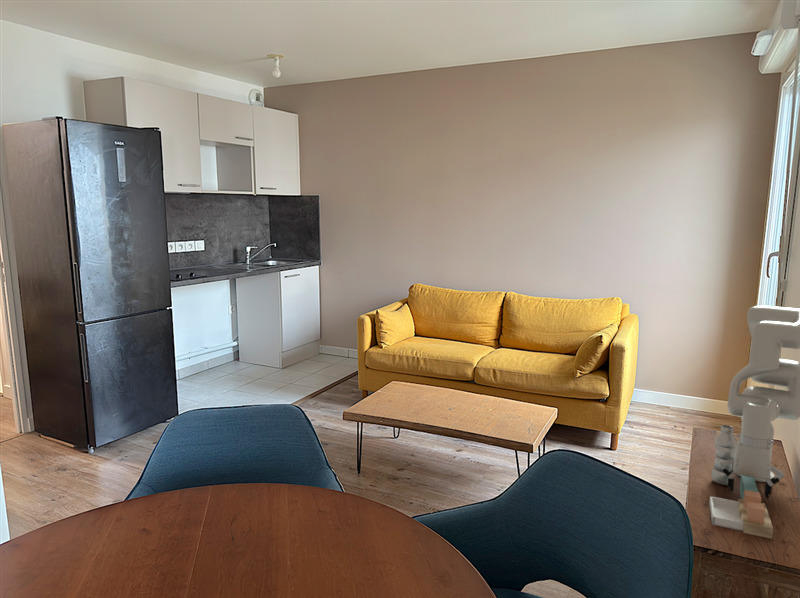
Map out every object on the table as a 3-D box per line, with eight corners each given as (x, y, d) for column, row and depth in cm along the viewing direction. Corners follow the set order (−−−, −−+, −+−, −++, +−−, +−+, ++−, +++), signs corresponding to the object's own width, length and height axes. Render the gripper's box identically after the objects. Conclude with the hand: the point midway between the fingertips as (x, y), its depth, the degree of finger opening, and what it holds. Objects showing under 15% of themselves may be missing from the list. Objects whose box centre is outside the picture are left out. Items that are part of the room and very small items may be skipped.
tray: (709, 503, 180) (709, 496, 179) (737, 509, 176) (738, 501, 176) (712, 524, 167) (712, 516, 167) (743, 531, 164) (743, 522, 163)
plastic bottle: (714, 477, 198) (719, 421, 196) (736, 483, 194) (741, 427, 191) (708, 482, 194) (713, 426, 191) (730, 489, 189) (735, 432, 186)
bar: (739, 491, 188) (741, 474, 187) (751, 494, 187) (753, 476, 186) (743, 507, 177) (745, 489, 177) (756, 510, 176) (758, 492, 175)
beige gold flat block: (737, 507, 177) (738, 498, 177) (763, 512, 174) (764, 503, 174) (743, 532, 163) (744, 522, 162) (772, 538, 160) (773, 528, 159)
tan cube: (742, 502, 175) (744, 489, 174) (758, 505, 173) (759, 492, 172) (744, 507, 171) (745, 495, 170) (760, 511, 169) (761, 498, 169)
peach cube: (745, 514, 167) (747, 501, 167) (761, 517, 166) (763, 504, 165) (747, 520, 164) (748, 507, 163) (763, 523, 162) (765, 510, 162)
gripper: (784, 442, 179) (778, 494, 181) (721, 432, 186) (716, 482, 188) (788, 450, 172) (782, 504, 174) (723, 440, 179) (718, 491, 181)
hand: (748, 493), depth 181 cm, fingers open, 9 cm apart
